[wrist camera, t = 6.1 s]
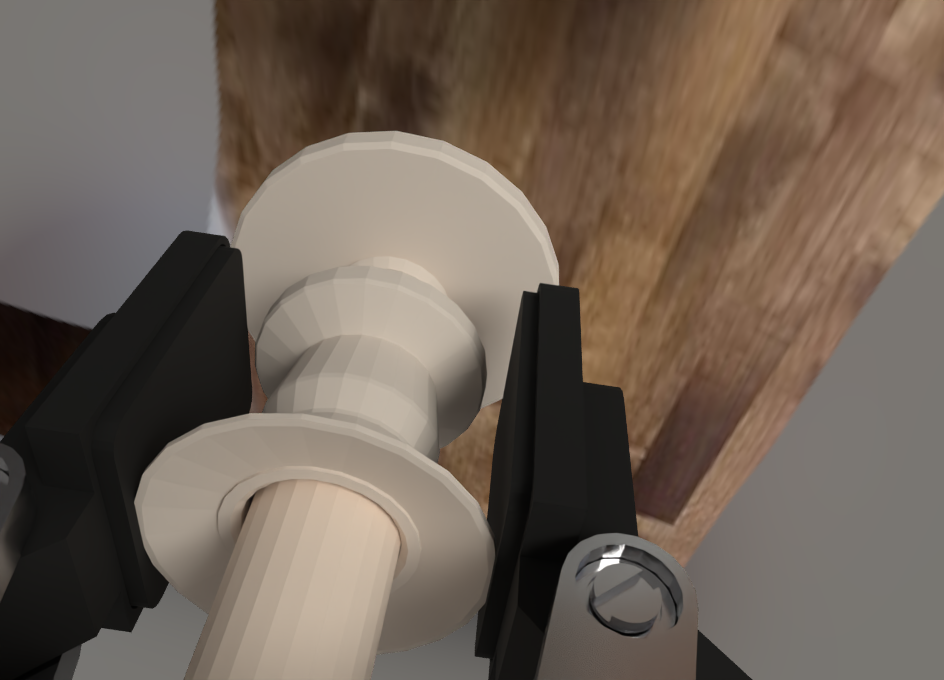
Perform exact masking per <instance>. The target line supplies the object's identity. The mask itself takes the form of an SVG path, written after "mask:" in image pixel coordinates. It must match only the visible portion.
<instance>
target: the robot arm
mask: <svg viewBox="0 0 944 680" xmlns="http://www.w3.org/2000/svg"><path fill="white" fill-rule="evenodd" d="M251 402H252V382H251V368H250V355H249V341H248V327H247V314H246V300H245V286H244V273H243V259H242V253H241V251H240V250H239V249H238V248H231V247H230V243H229V241H228V239H227V238H226V237H225V236H220V235H214V234H207V233H199V232H193V231H183V232H182V233H180V234H179V235H178V237H177V238H176V239H175V241H174V242H173V243H172V244H171V246H170V247H169V248H168V249H167V250H166V252H165V253H164V254H163V255H162V257H161V258H160V259H159V260H158V262H157V263H156V264H155V265H154V266H153V268H152V269H151V270H150V271H149V273H148V274H147V275H146V276H145V278H144V279H143V280H142V281H141V283H140V284H139V285H138V286H137V287H136V289H135V290H134V291H133V292H132V294H131V295H130V296H129V298H128V299H127V300H126V301H125V303H124V304H123V305H122V306H121V308H120V309H119V310H118V311H117V312H116V313H111V314H108V315H106V316H105V317H104V318H103V319H101V320H100V321H99V323H98V324H97V325H96V326H95V327H94V328H93V330H92V331H91V332H90V333H89V335H88V336H87V337H86V338H85V339H84V341H83V342H82V343H81V344H80V345H79V347H78V348H77V349H76V350H75V351H74V353H73V354H72V355H71V356H70V358H69V359H68V360H67V361H66V362H65V364H64V365H63V366H62V367H61V368H60V370H59V371H58V372H57V373H56V375H55V376H54V377H53V378H52V379H51V381H50V382H49V383H48V384H47V385H46V387H45V388H44V389H43V390H42V391H41V393H40V394H39V395H38V396H37V398H36V399H35V400H34V401H33V402H32V404H31V405H30V406H29V407H28V408H27V410H26V411H25V412H24V413H23V415H22V416H21V417H20V418H19V419H18V421H17V422H16V423H15V424H14V425H13V427H12V428H11V429H10V430H9V431H8V433H7V434H6V435H5V436H4V438H3V439H2V440H1V441H0V680H72V678H73V675H74V672H75V669H76V666H77V663H78V660H79V656H80V651H81V644H83V643H85V642H86V641H88V640H90V639H92V638H94V637H96V636H97V635H98V633H99V631H100V629H101V628H106V629H113V630H119V631H126V632H132V630H133V628H134V626H135V624H136V622H137V620H138V618H139V616H140V614H141V612H142V609H143V608H144V607H146V608H154V607H156V606H157V604H158V603H159V601H160V599H161V598H162V596H163V594H164V592H165V590H166V588H167V586H168V583H169V582H168V581H167V580H166V578H165V577H164V576H163V575H162V574H161V573H160V572H159V571H158V570H157V568H156V567H155V566H154V565H153V564H152V562H151V560H150V558H149V556H148V554H147V552H146V550H145V548H144V545H143V540H142V536H141V531H140V527H139V522H138V518H137V513H136V508H135V504H134V501H135V498H136V494H137V491H138V488H139V485H140V481H141V478H142V475H143V473H144V471H145V469H146V468H147V467H148V466H149V464H150V463H151V462H152V461H153V460H154V459H155V458H156V456H157V455H158V454H159V453H160V452H161V451H162V450H163V448H164V447H165V446H166V445H167V444H168V443H169V442H171V441H173V440H175V439H177V438H178V437H180V436H182V435H184V434H186V433H188V432H190V431H191V430H193V429H195V428H197V427H199V426H201V425H203V424H205V423H210V422H214V421H218V420H223V419H227V418H232V417H236V416H241V415H245V414H249V411H250V408H251ZM487 521H488V523H489V525H490V527H491V529H492V531H493V533H494V536H495V546H496V555H495V561H494V566H493V570H492V575H491V579H490V584H489V589H488V593H487V598H486V602H485V604H484V605H483V606H482V607H481V608H480V610H479V611H478V621H477V632H476V642H475V656H476V657H482V658H489V659H490V666H489V679H488V680H752V679H751V678H750V677H749V676H747V674H746V673H744V672H743V671H742V670H741V669H740V668H739V667H738V666H737V665H736V664H735V663H734V662H733V661H731V660H730V659H729V658H728V657H727V656H726V655H725V654H724V653H723V652H722V651H720V650H719V649H718V648H717V647H716V646H715V645H714V644H713V643H712V642H711V641H710V640H709V639H707V638H706V637H705V636H704V635H703V634H702V633H701V632H699V630H698V603H697V596H696V590H695V588H694V587H693V584H692V582H691V580H690V578H689V576H688V574H687V572H686V571H685V570H684V569H683V568H682V567H681V565H680V564H679V563H678V562H677V561H676V560H675V559H674V557H673V556H671V555H670V554H668V553H667V552H666V551H664V550H663V549H661V548H660V547H659V546H657V545H656V544H653V543H651V542H649V541H646V540H644V539H642V538H639V537H638V530H637V520H636V511H635V501H634V491H633V482H632V472H631V462H630V453H629V443H628V434H627V424H626V414H625V405H624V397H623V392H622V390H621V388H619V387H612V386H606V385H599V384H592V383H586V382H583V376H582V350H581V325H580V300H579V289H578V288H572V287H565V286H558V285H552V284H545V283H540V284H539V287H538V290H537V293H536V292H529V291H523V293H522V298H521V303H520V308H519V314H518V319H517V324H516V330H515V335H514V340H513V345H512V351H511V356H510V361H509V367H508V372H507V377H506V383H505V388H504V393H503V399H502V404H501V409H500V415H499V420H498V425H497V431H496V437H495V444H494V452H493V462H492V473H491V483H490V494H489V504H488V515H487Z"/></svg>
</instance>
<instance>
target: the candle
mask: <svg viewBox="0 0 944 680" xmlns="http://www.w3.org/2000/svg"><path fill="white" fill-rule="evenodd" d="M231 248H238V249H239V250H240V251H241V253H242V259H243V273H244V286H245V300H246V314H247V327H248V331H249V332H250V334H251V336H252V337H253V339H254V340H255V367H256V370H257V374H258V377H259V380H260V383H261V386H262V389H263V392H264V393H265V395H266V396H267V398H268V400H267V402H266V404H265V406H264V409H263V411H262V413H250V414H245V415H241V416H236V417H232V418H227V419H223V420H218V421H214V422H210V423H205V424H203V425H201V426H199V427H197V428H195V429H193V430H191V431H190V432H188V433H186V434H184V435H182V436H180V437H178V438H177V439H175V440H173V441H171V442H169V443H168V444H167V445H166V446H165V447H164V448H163V450H162V451H161V452H160V453H159V454H158V455H157V456H156V458H155V459H154V460H153V461H152V462H151V463H150V464H149V466H148V467H147V468H146V469H145V471H144V473H143V475H142V478H141V481H140V485H139V488H138V491H137V494H136V498H135V501H134V504H135V508H136V513H137V518H138V522H139V527H140V531H141V536H142V540H143V545H144V548H145V550H146V552H147V554H148V556H149V558H150V560H151V562H152V564H153V565H154V566H155V567H156V568H157V570H158V571H159V572H160V573H161V574H162V575H163V576H164V577H165V578H166V580H167V581H168V582H169V583H170V584H171V585H172V586H173V587H174V588H175V589H176V591H177V592H179V593H180V594H182V595H183V596H184V597H185V598H187V599H188V600H190V601H191V602H192V603H194V604H195V605H197V606H198V607H199V608H201V609H202V610H203V611H205V612H206V613H207V614H209V615H208V618H207V620H206V623H205V625H204V628H203V631H202V633H201V636H200V638H199V641H198V643H197V646H196V649H195V651H194V654H193V657H192V659H191V662H190V664H189V667H188V669H187V672H186V675H185V677H184V680H371V676H372V672H373V667H374V663H375V658H376V655H378V654H386V653H395V652H403V651H408V650H411V649H414V648H417V647H420V646H423V645H426V644H430V643H433V642H436V641H439V640H441V639H443V638H444V637H446V636H448V635H449V634H451V633H453V632H454V631H456V630H457V629H459V628H461V627H462V626H464V625H466V624H467V623H468V622H469V621H470V620H471V619H472V618H473V617H474V615H475V614H476V613H477V612H478V611H479V610H480V608H481V607H482V606H483V605H484V604H485V602H486V598H487V593H488V589H489V584H490V579H491V575H492V570H493V566H494V561H495V555H496V546H495V536H494V533H493V531H492V529H491V527H490V525H489V523H488V521H487V519H486V517H485V515H484V513H483V511H482V509H481V507H480V505H479V503H478V502H477V501H476V500H475V499H474V498H473V497H472V496H471V495H470V494H469V493H468V491H467V490H466V489H465V488H464V487H463V486H462V485H461V484H460V483H459V482H458V481H457V480H456V479H455V478H454V477H453V476H452V474H451V473H450V472H449V471H447V470H446V469H444V468H443V467H441V466H440V465H438V464H437V463H438V458H439V454H440V448H442V447H444V446H447V445H448V444H450V443H451V442H452V441H453V440H455V439H456V438H457V437H458V436H460V435H461V434H462V433H463V432H464V431H466V430H467V429H468V427H469V426H470V424H471V423H472V421H473V420H474V418H475V417H476V415H477V414H478V412H479V411H480V409H481V408H483V407H485V406H487V405H490V404H492V403H494V402H496V401H498V400H501V399H502V398H503V393H504V388H505V383H506V377H507V372H508V367H509V361H510V356H511V351H512V345H513V340H514V335H515V330H516V324H517V319H518V314H519V308H520V303H521V298H522V293H523V291H529V292H536V293H537V290H538V287H539V284H540V283H545V284H552V285H558V286H559V264H558V261H557V258H556V255H555V252H554V249H553V246H552V243H551V240H550V237H549V234H548V231H547V228H546V226H545V225H544V223H543V222H542V220H541V219H540V217H539V216H538V214H537V213H536V212H535V210H534V209H533V207H532V206H531V204H530V203H529V201H528V200H527V198H526V197H525V196H524V194H523V193H522V191H520V190H519V189H518V188H517V187H516V186H515V185H513V184H512V183H511V182H510V181H509V180H507V179H506V178H505V177H504V176H503V175H502V174H500V173H499V172H498V171H497V170H496V169H494V168H493V167H492V166H491V165H490V164H489V163H487V162H486V161H484V160H482V159H480V158H478V157H476V156H474V155H472V154H469V153H467V152H465V151H463V150H461V149H459V148H457V147H455V146H453V145H451V144H449V143H447V142H445V141H442V140H437V139H432V138H428V137H423V136H418V135H413V134H409V133H404V132H399V131H382V132H359V133H347V134H344V135H341V136H338V137H335V138H332V139H329V140H326V141H323V142H320V143H316V144H313V145H310V146H307V147H306V148H304V149H303V150H301V151H300V152H298V153H297V154H295V155H294V156H293V157H291V158H290V159H288V160H287V161H285V162H284V163H283V164H281V165H280V166H278V167H277V168H275V169H274V170H273V171H272V172H271V173H270V175H269V176H268V177H267V179H266V180H265V181H264V183H263V184H262V185H261V187H260V188H259V189H258V191H257V192H256V193H255V195H254V196H253V197H252V199H251V200H250V201H249V203H248V204H247V205H246V207H245V208H244V210H243V211H242V213H241V216H240V219H239V222H238V225H237V228H236V231H235V234H234V237H233V241H232V244H231Z"/></svg>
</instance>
